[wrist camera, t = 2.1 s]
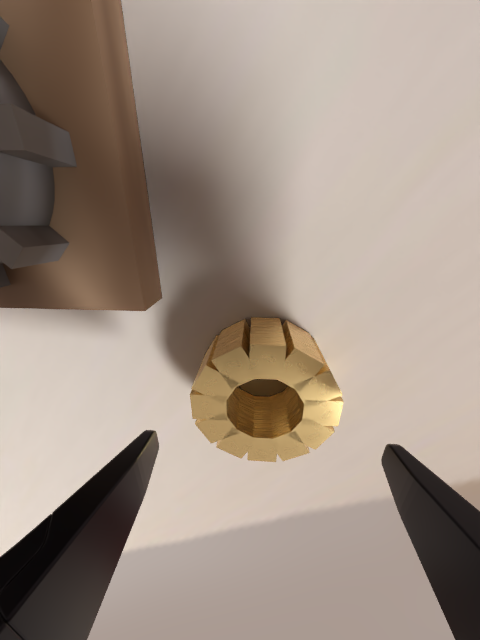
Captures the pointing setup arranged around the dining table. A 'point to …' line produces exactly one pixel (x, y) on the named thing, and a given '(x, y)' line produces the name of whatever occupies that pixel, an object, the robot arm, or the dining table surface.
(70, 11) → the gear board
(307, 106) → the dining table surface
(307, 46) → the dining table surface
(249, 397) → the brass gear
